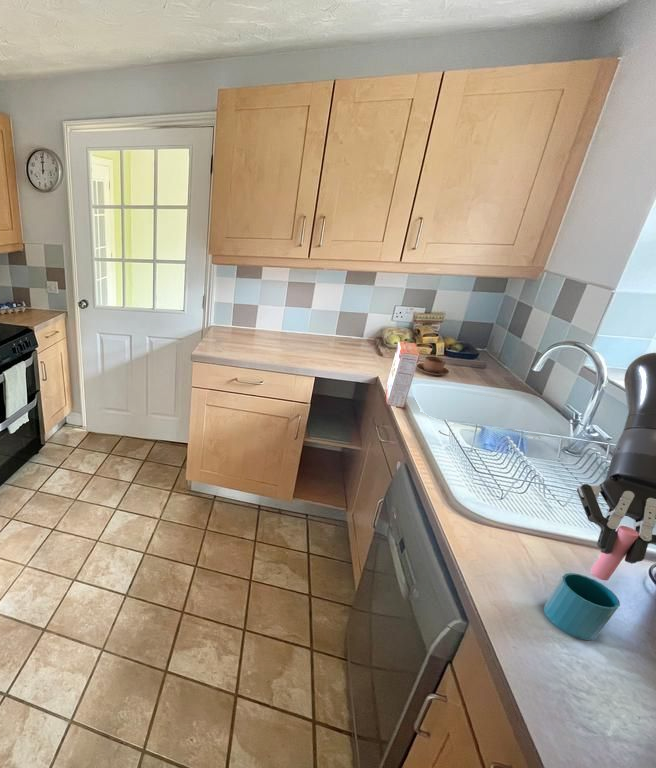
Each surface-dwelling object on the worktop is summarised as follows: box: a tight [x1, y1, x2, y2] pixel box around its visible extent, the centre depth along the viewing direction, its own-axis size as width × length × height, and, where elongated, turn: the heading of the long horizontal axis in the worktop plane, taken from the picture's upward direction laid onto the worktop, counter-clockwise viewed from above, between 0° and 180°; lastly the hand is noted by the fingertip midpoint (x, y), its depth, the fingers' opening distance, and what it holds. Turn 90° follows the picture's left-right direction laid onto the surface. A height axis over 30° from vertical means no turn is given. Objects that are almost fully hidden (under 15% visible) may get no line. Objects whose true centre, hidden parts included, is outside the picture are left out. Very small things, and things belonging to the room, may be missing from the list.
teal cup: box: [543, 572, 621, 641], centre depth 73 cm, size 7×7×8 cm
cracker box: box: [385, 341, 420, 409], centre depth 152 cm, size 14×6×21 cm, turn 154°
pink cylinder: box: [590, 525, 639, 581], centre depth 68 cm, size 2×2×10 cm
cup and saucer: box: [416, 356, 450, 376], centre depth 180 cm, size 12×12×6 cm
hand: (618, 556), depth 66 cm, fingers closed on pink cylinder, 2 cm apart
